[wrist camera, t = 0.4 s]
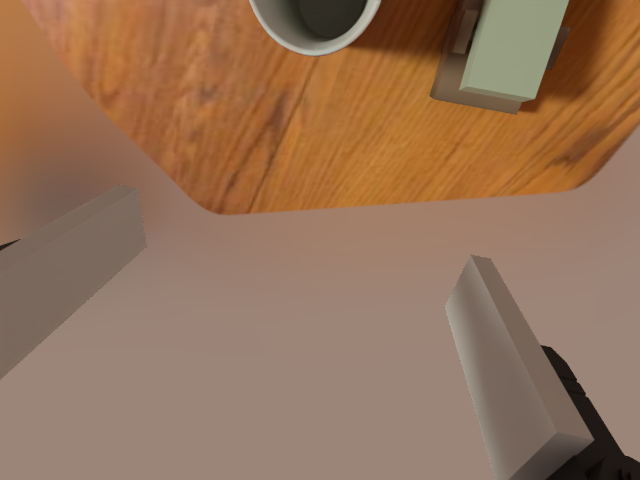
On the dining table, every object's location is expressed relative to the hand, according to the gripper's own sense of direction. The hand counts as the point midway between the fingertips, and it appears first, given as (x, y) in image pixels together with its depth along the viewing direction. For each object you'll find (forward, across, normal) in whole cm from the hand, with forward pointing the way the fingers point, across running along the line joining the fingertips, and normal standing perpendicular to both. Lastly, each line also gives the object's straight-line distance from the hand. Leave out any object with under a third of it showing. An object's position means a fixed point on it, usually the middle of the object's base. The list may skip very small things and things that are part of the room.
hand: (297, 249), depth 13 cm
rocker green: (+23, +12, +9) cm, 28 cm away
